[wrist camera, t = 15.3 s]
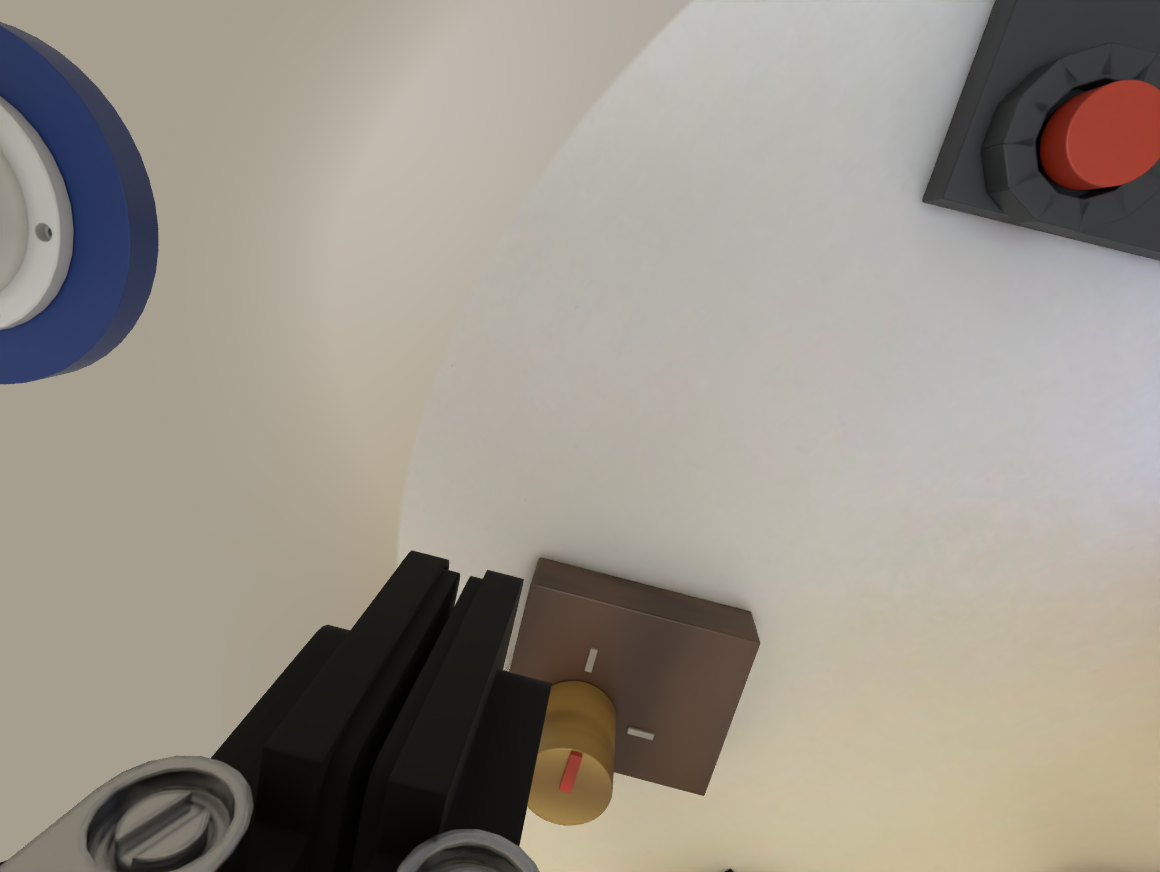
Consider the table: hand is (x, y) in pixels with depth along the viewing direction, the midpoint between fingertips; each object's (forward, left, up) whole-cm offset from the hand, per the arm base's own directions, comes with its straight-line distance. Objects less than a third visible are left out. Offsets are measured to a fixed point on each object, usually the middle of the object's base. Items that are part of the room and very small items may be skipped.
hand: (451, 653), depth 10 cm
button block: (+19, +16, -25) cm, 35 cm away
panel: (+6, -16, -25) cm, 30 cm away
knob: (+4, -18, -22) cm, 29 cm away
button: (+17, +14, -21) cm, 31 cm away
